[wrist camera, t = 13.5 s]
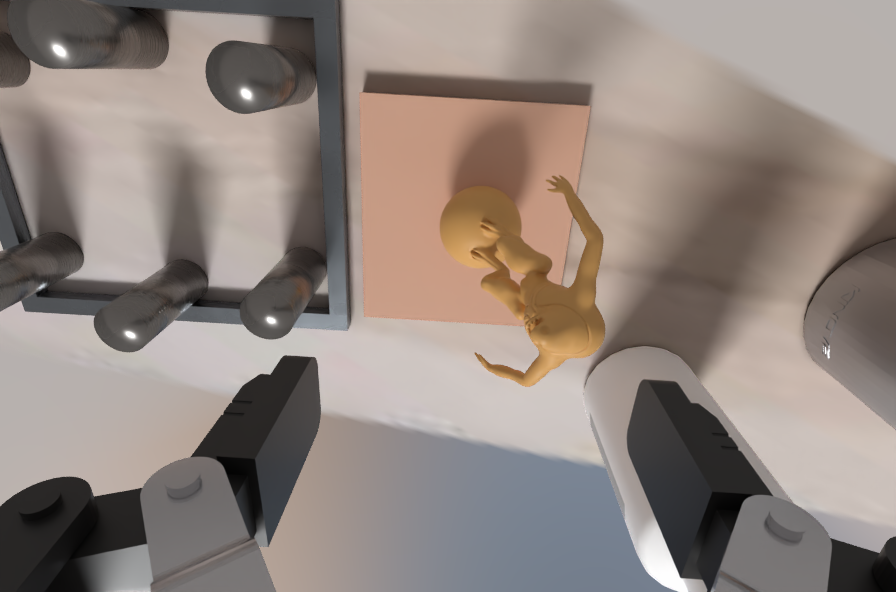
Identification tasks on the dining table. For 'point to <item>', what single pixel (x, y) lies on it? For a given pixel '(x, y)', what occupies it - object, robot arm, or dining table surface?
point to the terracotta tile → (444, 175)
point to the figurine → (528, 275)
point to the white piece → (609, 420)
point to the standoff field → (238, 89)
